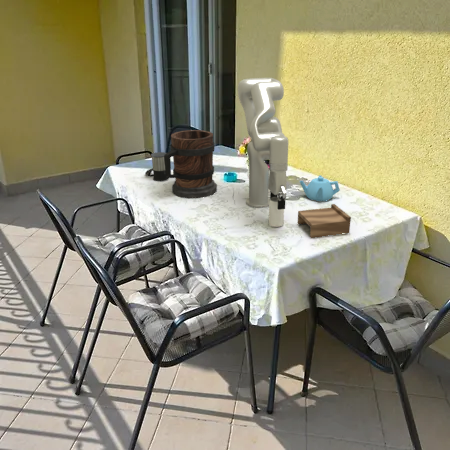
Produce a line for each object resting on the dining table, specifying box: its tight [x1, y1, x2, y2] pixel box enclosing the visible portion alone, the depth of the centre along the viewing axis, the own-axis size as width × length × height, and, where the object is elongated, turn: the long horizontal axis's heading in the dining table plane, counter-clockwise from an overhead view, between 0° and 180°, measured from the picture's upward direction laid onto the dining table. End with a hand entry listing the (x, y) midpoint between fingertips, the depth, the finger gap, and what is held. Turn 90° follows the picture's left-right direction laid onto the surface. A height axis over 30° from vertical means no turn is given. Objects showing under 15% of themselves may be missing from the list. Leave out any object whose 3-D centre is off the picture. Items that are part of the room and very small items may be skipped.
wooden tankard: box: [164, 129, 218, 200], centre depth 222 cm, size 24×30×30 cm
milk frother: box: [145, 151, 172, 182], centre depth 248 cm, size 14×16×15 cm
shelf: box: [297, 203, 352, 239], centre depth 183 cm, size 15×17×8 cm
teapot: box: [299, 175, 341, 202], centre depth 216 cm, size 15×15×11 cm
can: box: [268, 196, 285, 228], centre depth 187 cm, size 6×6×12 cm
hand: (277, 205), depth 184 cm, fingers open, 9 cm apart
